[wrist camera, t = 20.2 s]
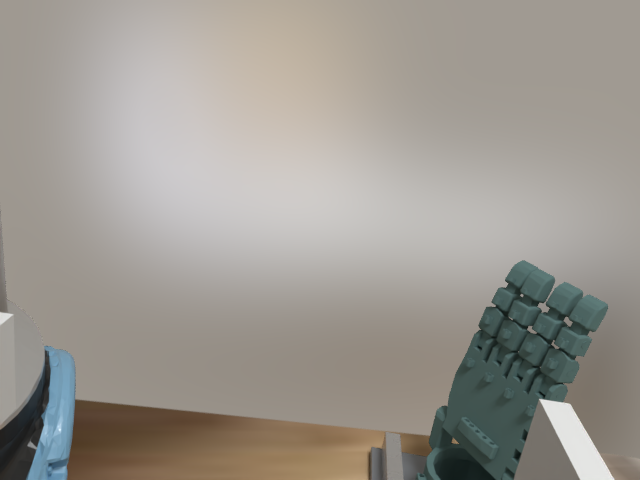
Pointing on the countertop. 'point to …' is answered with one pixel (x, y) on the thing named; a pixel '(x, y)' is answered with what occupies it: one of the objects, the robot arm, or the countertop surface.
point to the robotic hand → (510, 376)
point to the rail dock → (394, 461)
